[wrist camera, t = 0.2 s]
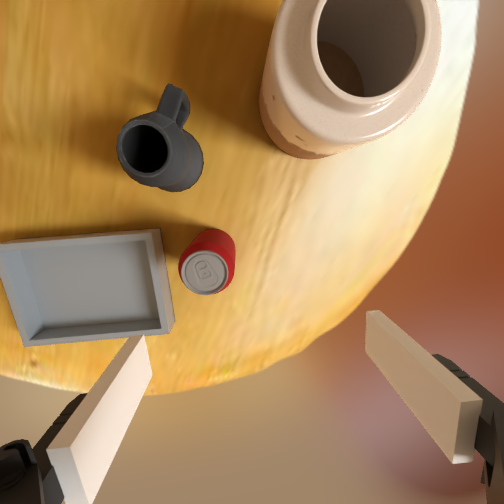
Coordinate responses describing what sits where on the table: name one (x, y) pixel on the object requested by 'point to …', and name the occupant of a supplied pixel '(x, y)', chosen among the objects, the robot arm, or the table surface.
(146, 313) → the bin
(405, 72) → the vase
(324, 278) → the table surface
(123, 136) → the mug
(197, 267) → the beverage can
